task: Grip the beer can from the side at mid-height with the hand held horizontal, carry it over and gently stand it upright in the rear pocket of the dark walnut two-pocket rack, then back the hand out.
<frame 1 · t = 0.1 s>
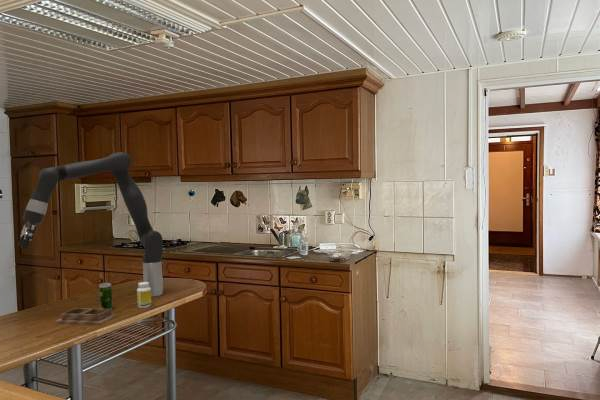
hand: (22, 247, 190), 31 cm above the table, tool tilted 20°, fingers open, 8 cm apart
beer can: (106, 310, 203), on the table
pill bottle: (144, 306, 207), on the table
rack: (86, 319, 189), on the table
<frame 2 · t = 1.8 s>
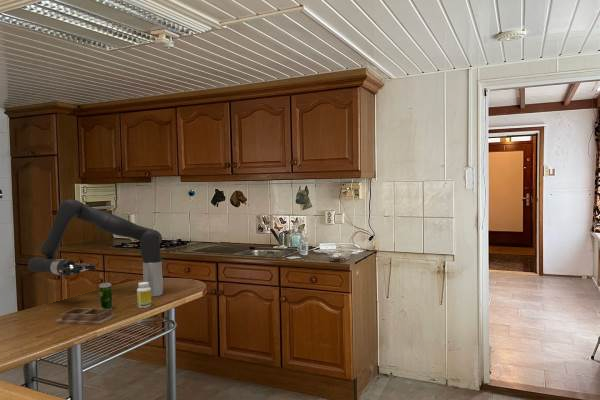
hand: (87, 269, 207), 18 cm above the table, tool horizontal, fingers open, 8 cm apart
nothing on the table moved.
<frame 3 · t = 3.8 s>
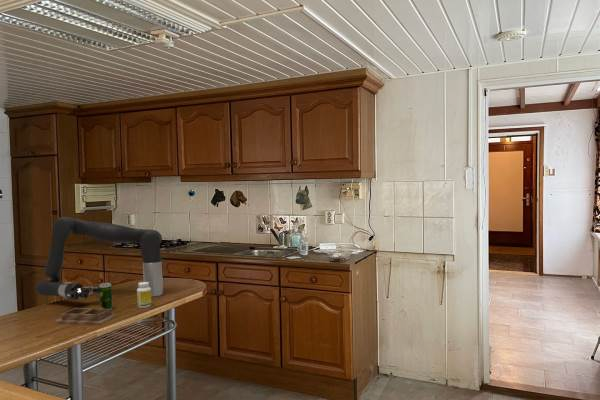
hand: (95, 293, 206), 7 cm above the table, tool horizontal, fingers open, 8 cm apart
nothing on the table moved.
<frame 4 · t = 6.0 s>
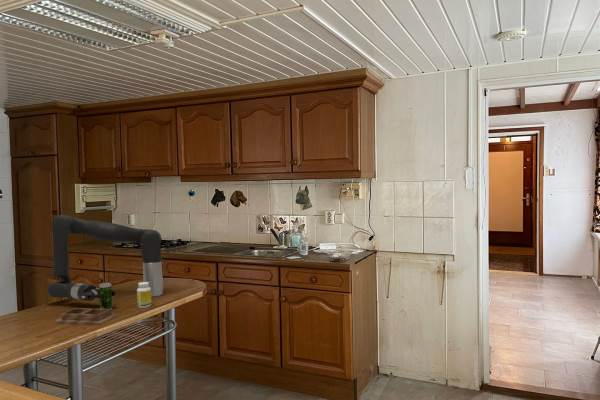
hand: (109, 295, 202), 7 cm above the table, tool horizontal, fingers closed on beer can, 5 cm apart
beer can: (106, 310, 203), on the table, touching gripper
everything else where it was.
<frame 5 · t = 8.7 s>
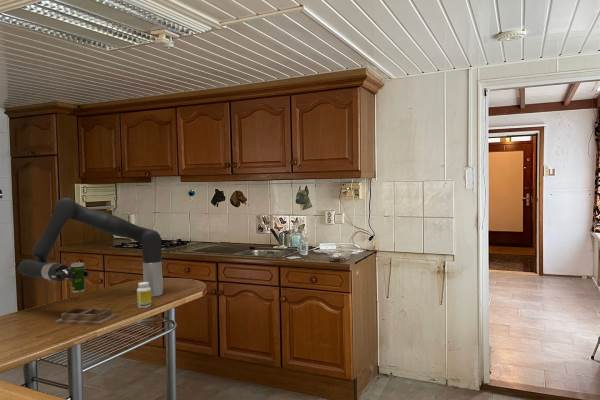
hand: (81, 275, 189), 19 cm above the table, tool horizontal, fingers closed on beer can, 5 cm apart
beer can: (78, 291, 191), point 12 cm above the table, touching gripper
everything else where it was.
when the fingers open (9 cm above the table, at t = 11.6 s): beer can drops 1 cm, resting on rack.
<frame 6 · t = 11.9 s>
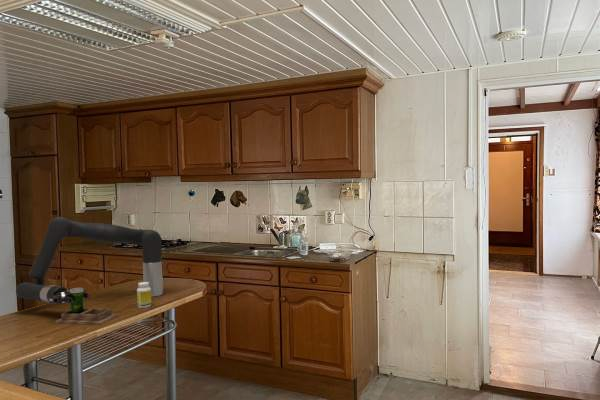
hand: (80, 297, 189), 9 cm above the table, tool horizontal, fingers open, 7 cm apart
beer can: (77, 317, 190), point 1 cm above the table, touching rack
everything else where it was.
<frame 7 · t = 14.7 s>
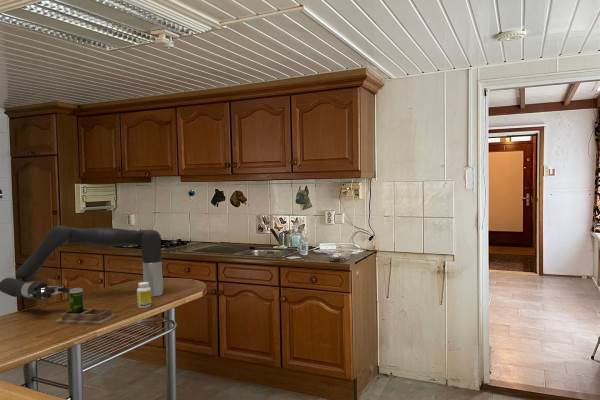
hand: (59, 293, 194), 10 cm above the table, tool horizontal, fingers open, 8 cm apart
nothing on the table moved.
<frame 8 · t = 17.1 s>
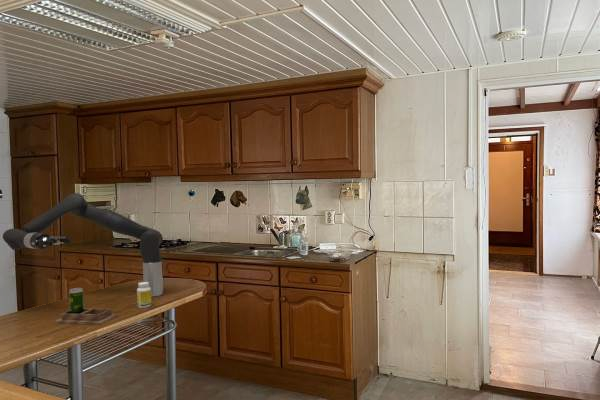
hand: (61, 242, 199), 32 cm above the table, tool horizontal, fingers open, 8 cm apart
nothing on the table moved.
at the end: beer can 0.1 cm from the target spot on the rack, point 0.8 cm above the rack's base; beer can tilted 0°; the gripper is holding nothing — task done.
